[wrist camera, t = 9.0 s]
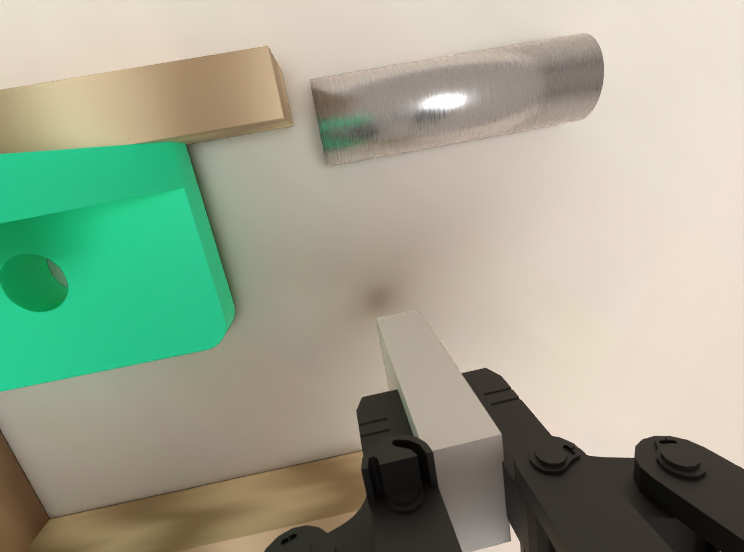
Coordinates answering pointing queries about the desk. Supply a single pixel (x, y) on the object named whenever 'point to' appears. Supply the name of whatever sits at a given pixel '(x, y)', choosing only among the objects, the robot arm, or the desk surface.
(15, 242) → the camera mount
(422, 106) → the shaft stub
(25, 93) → the u-shaped wooden frame
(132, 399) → the desk surface
